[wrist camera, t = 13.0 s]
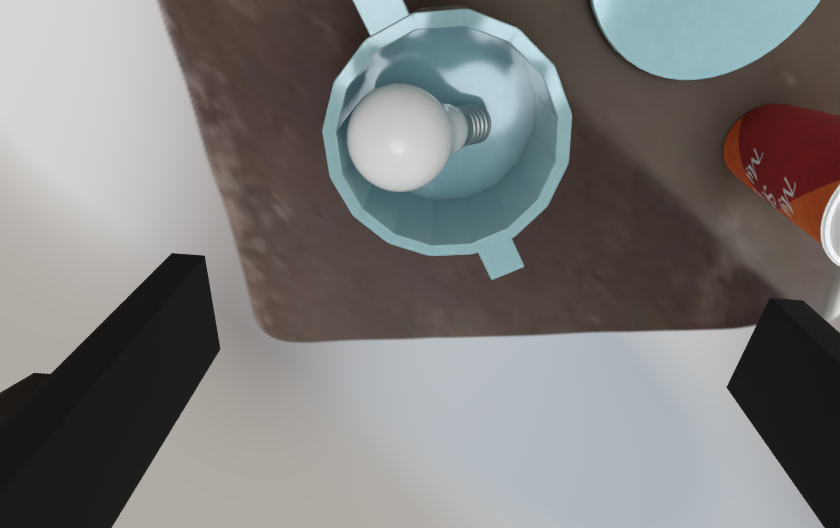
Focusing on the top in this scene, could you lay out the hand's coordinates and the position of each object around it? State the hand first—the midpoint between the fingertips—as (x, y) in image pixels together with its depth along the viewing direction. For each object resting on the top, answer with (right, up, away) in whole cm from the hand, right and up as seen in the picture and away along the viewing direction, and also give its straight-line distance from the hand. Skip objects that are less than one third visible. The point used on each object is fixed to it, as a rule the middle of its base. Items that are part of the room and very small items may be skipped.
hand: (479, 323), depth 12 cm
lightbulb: (+3, +11, +23) cm, 26 cm away
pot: (0, +12, +25) cm, 27 cm away
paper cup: (+24, +10, +25) cm, 36 cm away
